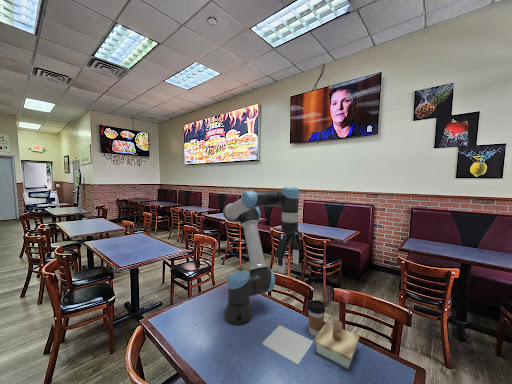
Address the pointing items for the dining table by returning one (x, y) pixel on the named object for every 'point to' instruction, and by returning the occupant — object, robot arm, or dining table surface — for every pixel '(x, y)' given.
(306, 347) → the mat
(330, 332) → the lid
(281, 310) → the dining table surface
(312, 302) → the coffee cup
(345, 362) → the dish
